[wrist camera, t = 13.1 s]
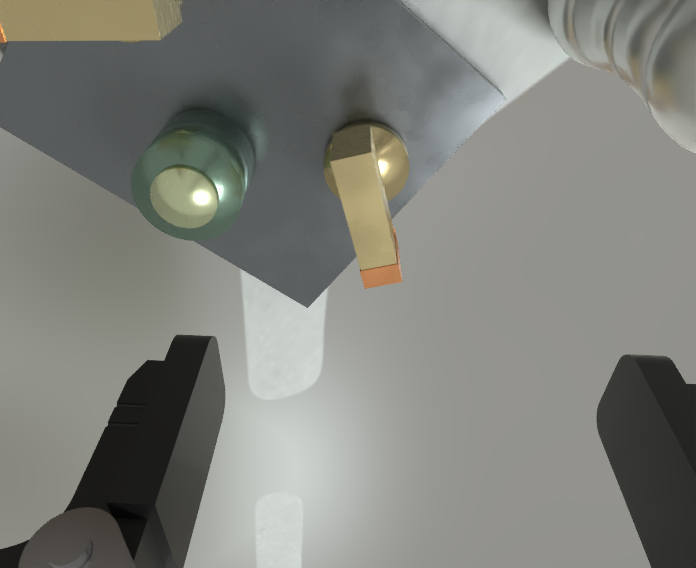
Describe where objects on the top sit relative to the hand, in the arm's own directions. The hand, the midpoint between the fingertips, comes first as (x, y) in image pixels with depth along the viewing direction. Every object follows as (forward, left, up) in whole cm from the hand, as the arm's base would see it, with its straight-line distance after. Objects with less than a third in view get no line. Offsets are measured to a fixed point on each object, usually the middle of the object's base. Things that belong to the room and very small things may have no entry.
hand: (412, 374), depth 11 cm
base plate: (+7, -5, -26) cm, 27 cm away
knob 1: (+5, -13, -24) cm, 28 cm away
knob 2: (+5, +3, -24) cm, 25 cm away
